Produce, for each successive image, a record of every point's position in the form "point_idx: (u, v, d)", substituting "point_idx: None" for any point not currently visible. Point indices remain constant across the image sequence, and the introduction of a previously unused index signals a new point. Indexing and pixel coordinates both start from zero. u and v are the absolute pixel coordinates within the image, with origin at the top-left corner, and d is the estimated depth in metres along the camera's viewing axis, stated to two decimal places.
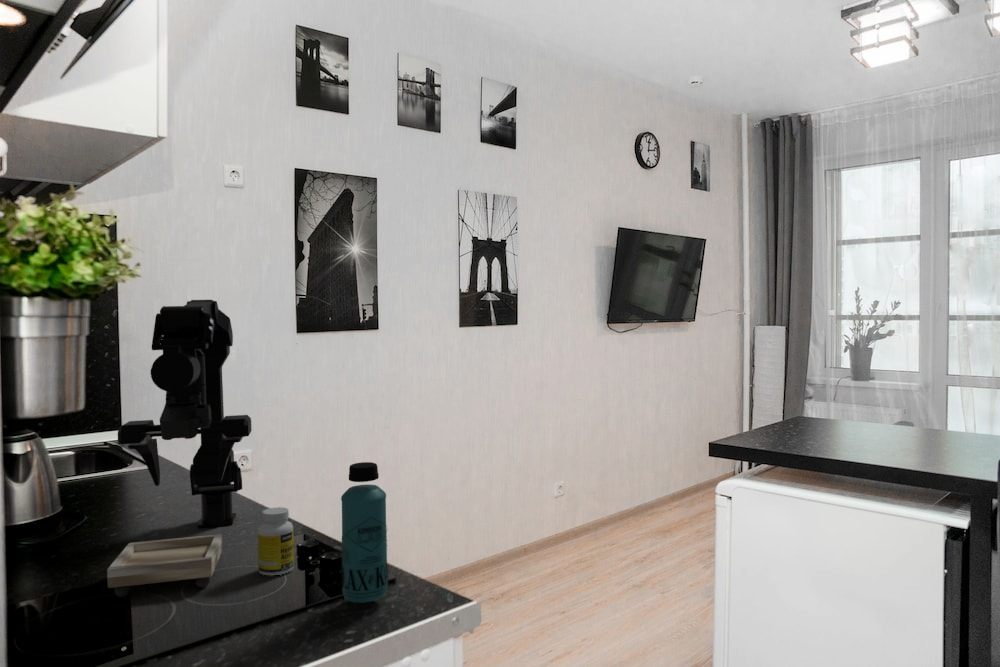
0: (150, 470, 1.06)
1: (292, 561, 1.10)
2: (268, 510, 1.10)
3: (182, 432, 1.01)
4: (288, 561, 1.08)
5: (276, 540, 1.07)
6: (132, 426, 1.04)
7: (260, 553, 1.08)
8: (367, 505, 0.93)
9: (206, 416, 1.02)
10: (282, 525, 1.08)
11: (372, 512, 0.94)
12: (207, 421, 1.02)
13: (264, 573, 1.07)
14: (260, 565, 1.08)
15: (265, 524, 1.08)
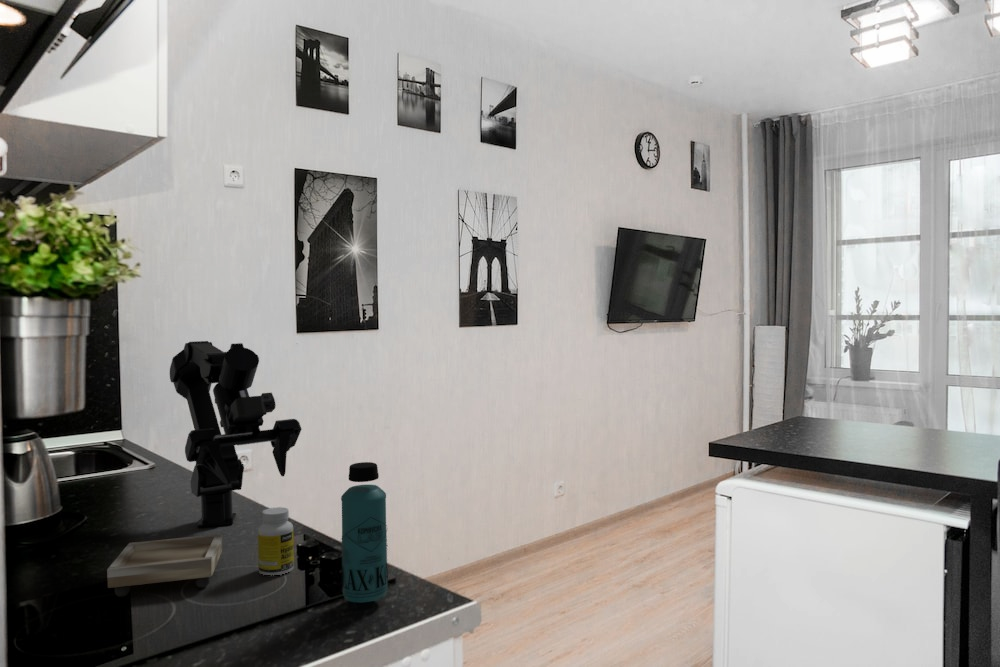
0: (221, 467, 1.13)
1: (292, 561, 1.10)
2: (268, 510, 1.10)
3: (256, 406, 1.16)
4: (288, 561, 1.08)
5: (276, 540, 1.07)
6: (201, 429, 1.15)
7: (260, 553, 1.08)
8: (367, 505, 0.93)
9: (272, 397, 1.20)
10: (282, 525, 1.08)
11: (372, 512, 0.94)
12: (273, 400, 1.19)
13: (264, 573, 1.07)
14: (260, 565, 1.08)
15: (265, 524, 1.08)
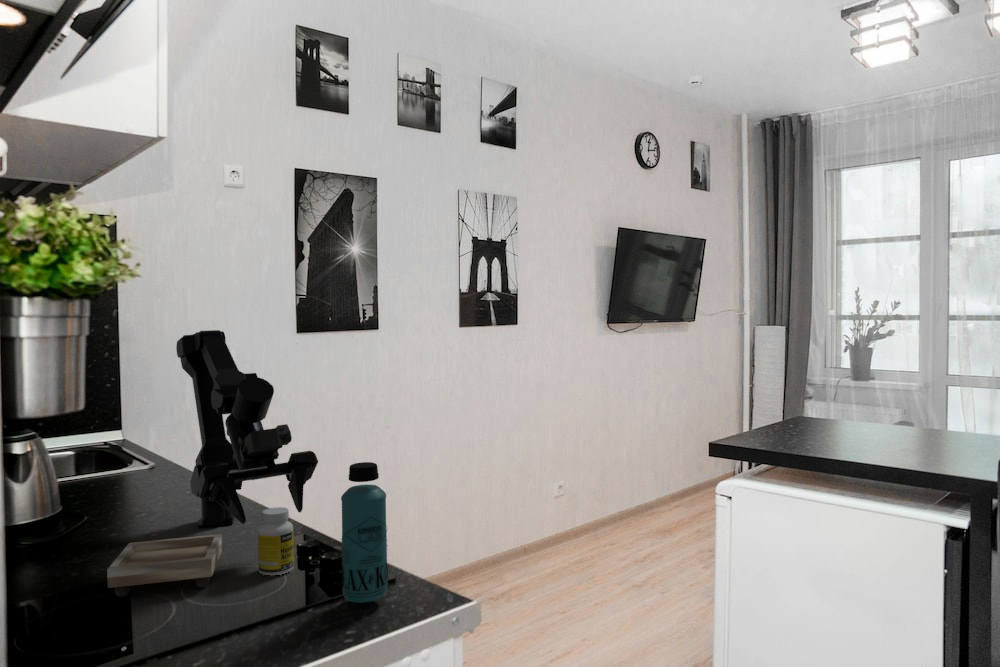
0: (236, 505, 1.08)
1: (292, 561, 1.10)
2: (268, 510, 1.10)
3: (272, 440, 1.11)
4: (288, 561, 1.08)
5: (276, 540, 1.07)
6: (214, 465, 1.10)
7: (260, 553, 1.08)
8: (367, 505, 0.93)
9: (287, 429, 1.15)
10: (282, 525, 1.08)
11: (372, 512, 0.94)
12: (289, 433, 1.14)
13: (264, 573, 1.07)
14: (260, 565, 1.08)
15: (265, 524, 1.08)
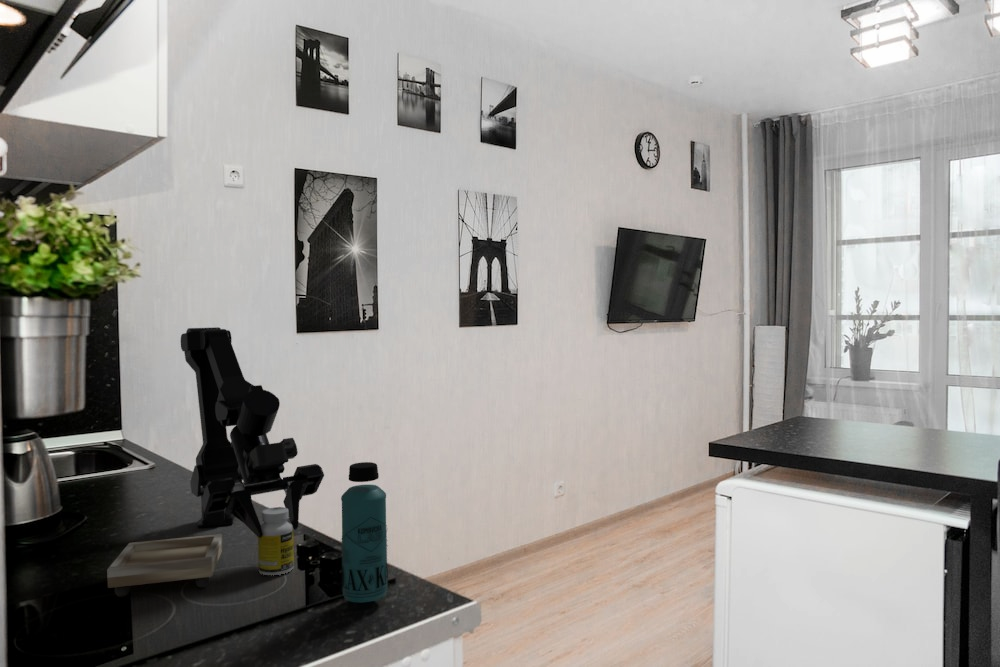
0: (253, 519, 1.07)
1: (292, 561, 1.10)
2: (268, 510, 1.10)
3: (278, 454, 1.09)
4: (288, 561, 1.08)
5: (276, 540, 1.07)
6: (219, 479, 1.08)
7: (260, 553, 1.08)
8: (367, 505, 0.93)
9: (293, 443, 1.13)
10: (282, 525, 1.08)
11: (372, 512, 0.94)
12: (295, 447, 1.12)
13: (264, 573, 1.07)
14: (260, 565, 1.08)
15: (265, 524, 1.08)
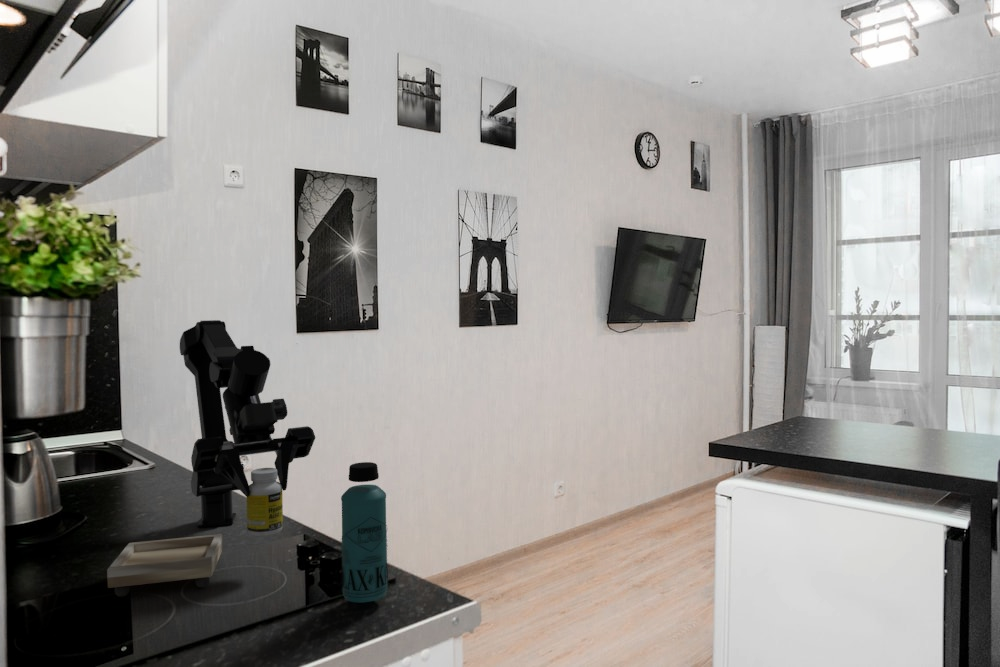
0: (241, 477, 1.06)
1: (281, 521, 1.09)
2: (257, 470, 1.09)
3: (267, 414, 1.08)
4: (276, 521, 1.08)
5: (264, 499, 1.06)
6: (208, 438, 1.07)
7: (248, 512, 1.07)
8: (367, 505, 0.93)
9: (283, 403, 1.12)
10: (271, 485, 1.08)
11: (372, 512, 0.94)
12: (285, 407, 1.11)
13: (252, 532, 1.07)
14: (248, 524, 1.07)
15: (253, 483, 1.08)
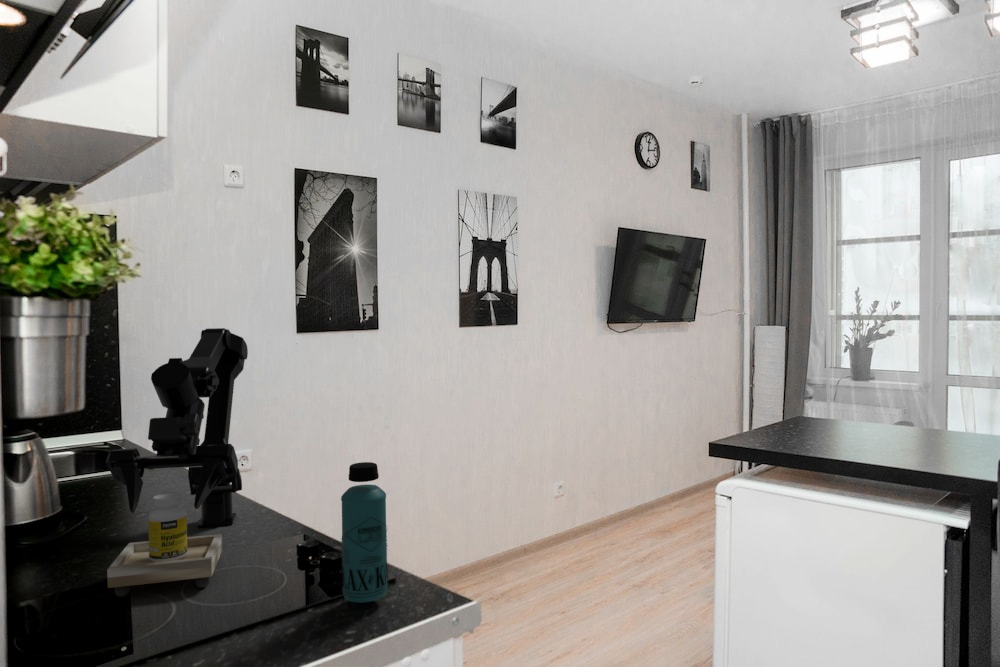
0: (129, 493, 1.05)
1: (178, 550, 1.05)
2: (163, 494, 1.07)
3: (168, 429, 1.06)
4: (171, 549, 1.04)
5: (156, 526, 1.04)
6: (123, 449, 1.08)
7: None
8: (367, 505, 0.93)
9: (193, 419, 1.08)
10: (167, 512, 1.05)
11: (372, 512, 0.94)
12: (193, 423, 1.07)
13: (149, 558, 1.05)
14: None
15: None
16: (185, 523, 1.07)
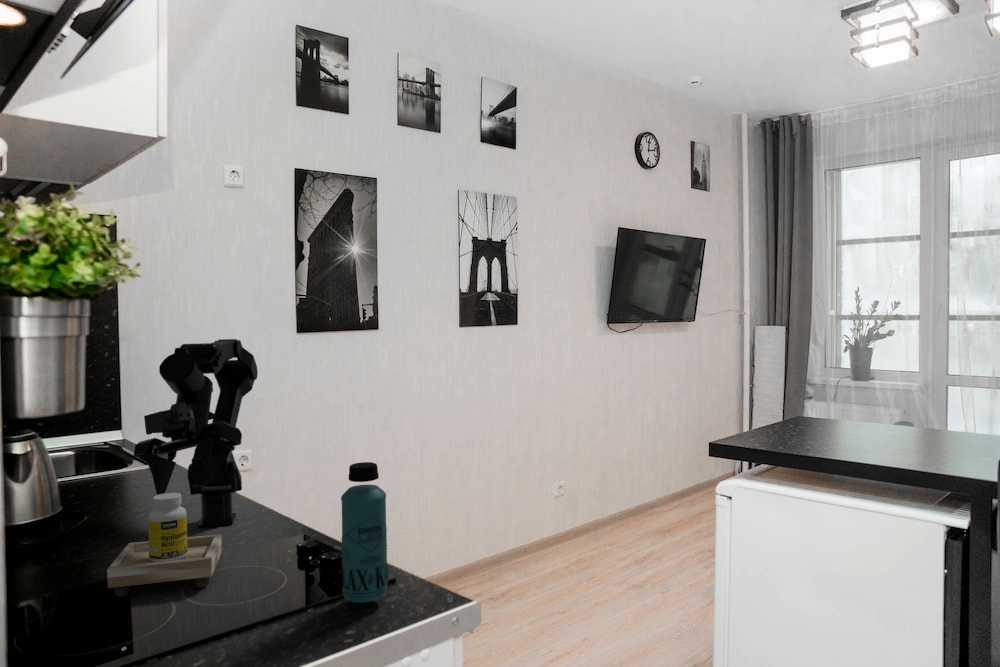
0: (154, 480, 1.18)
1: (178, 550, 1.05)
2: (163, 494, 1.07)
3: (157, 424, 1.14)
4: (171, 550, 1.04)
5: (156, 526, 1.04)
6: (145, 440, 1.21)
7: None
8: (367, 505, 0.93)
9: (177, 409, 1.14)
10: (167, 512, 1.05)
11: (372, 512, 0.94)
12: (177, 413, 1.14)
13: (149, 558, 1.05)
14: None
15: None
16: (185, 523, 1.07)
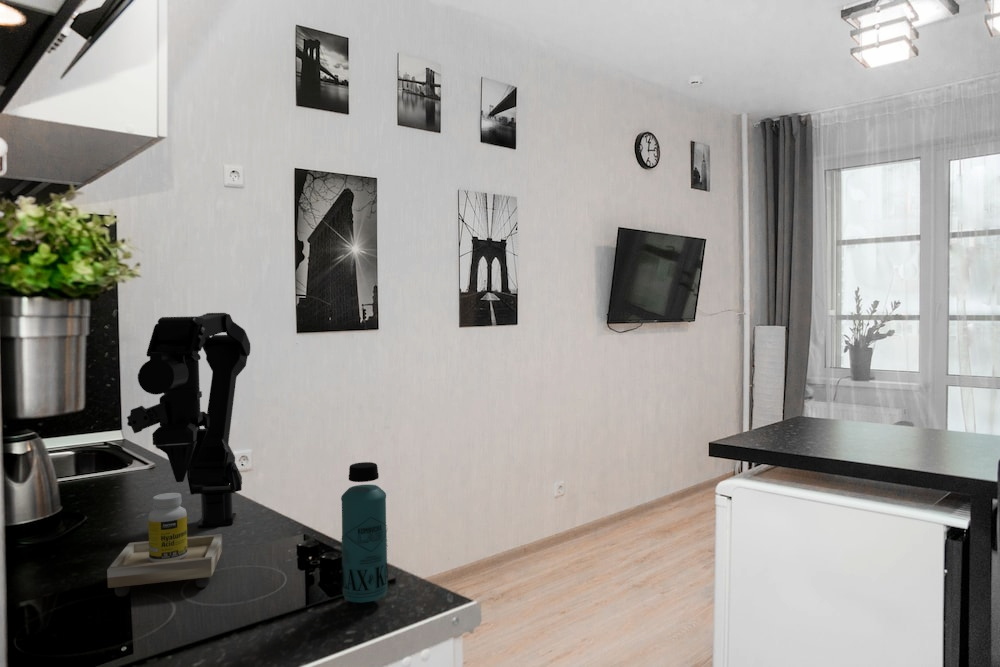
0: None
1: (178, 550, 1.05)
2: (163, 494, 1.07)
3: None
4: (171, 550, 1.04)
5: (156, 526, 1.04)
6: None
7: None
8: (367, 505, 0.93)
9: None
10: (167, 512, 1.05)
11: (372, 512, 0.94)
12: (130, 421, 1.14)
13: (149, 558, 1.05)
14: None
15: None
16: (185, 523, 1.07)
